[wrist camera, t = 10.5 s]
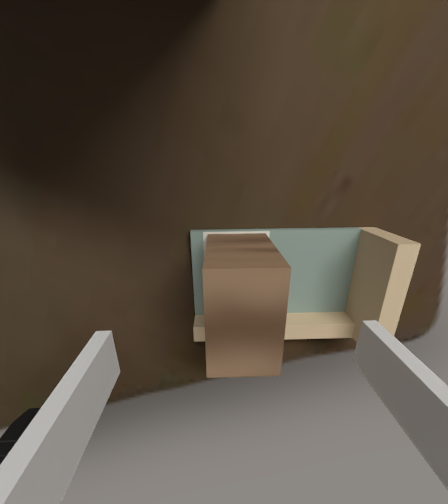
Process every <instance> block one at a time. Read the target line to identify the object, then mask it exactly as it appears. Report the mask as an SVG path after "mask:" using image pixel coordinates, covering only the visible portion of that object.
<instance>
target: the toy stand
mask: <svg viewBox="0 0 448 504" xmlns="http://www.w3.org/2000/svg"><path fill="white" fill-rule="evenodd" d="M241 233H266V235H267V236H268V237H269V239H270V240H271V241H272V243H273V244H274V245H275V247H276V248H277V249H278V251H279V252H280V253H281V254H282V256H283V257H284V258H285V260H286V261H287V262H288V264H289V265H290V266H291V278H290V288H289V297H288V307H287V317H286V327H285V337H284V339H321V338H353V339H354V340H355V341H356V343H357V341H358V337H359V332H360V328H361V324H362V321H369V320H376V321H378V322H379V323H380V324H381V325H382V326H383V327H384V328H385V329H386V330H387V331H388V332H390V333H391V334H392V335H393V336H394V334H395V331H396V327H397V324H398V321H399V317H400V314H401V310H402V307H403V304H404V300H405V297H406V294H407V290H408V287H409V283H410V280H411V277H412V273H413V270H414V266H415V263H416V260H417V256H418V253H419V250H420V246H421V244H420V243H417V242H414V241H411V240H409V239H406V238H403V237H400V236H398V235H395V234H392V233H389V232H387V231H384V230H381V229H378V228H376V227H357V228H288V229H219V230H191V231H190V237H191V254H192V270H193V287H194V304H195V319H194V326H193V332H194V342H196V341H205V323H204V299H203V275H202V268H203V261H204V255H205V249H206V243H207V237H208V234H241Z"/></svg>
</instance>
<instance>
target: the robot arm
mask: <svg viewBox="0 0 448 504" xmlns="http://www.w3.org/2000/svg"><path fill="white" fill-rule="evenodd" d="M353 362H354V363H355V365H356V366H357V367H358V369H359V370H360V371H361V373H362V374H363V375H364V377H365V378H366V380H367V381H368V382H369V384H370V385H371V386H372V388H373V389H374V391H375V392H376V393H377V395H378V396H379V397H380V398H381V400H382V401H383V403H384V404H385V405H386V407H387V408H388V410H389V411H390V412H391V414H392V415H393V416H394V418H395V419H396V420H397V422H398V423H399V425H400V426H401V427H402V428H403V430H404V431H405V433H406V434H407V435H408V437H409V438H410V440H411V441H412V442H413V444H414V445H415V446H416V448H417V449H418V450H419V452H420V453H421V454H422V456H423V457H424V459H425V460H426V461H427V463H428V464H429V465H430V467H431V468H432V469H433V471H434V472H435V474H436V475H437V476H438V478H439V479H440V480H441V482H442V483H443V484H444V486H445V487H446V489H447V490H448V386H447V385H446V384H445V383H444V382H443V381H442V380H441V379H440V378H438V377H437V376H436V375H435V374H434V373H433V372H432V371H431V370H429V368H428V367H426V366H425V365H424V364H423V363H422V362H421V361H420V360H419V359H418V358H417V357H416V356H414V355H413V354H412V353H411V352H410V351H409V350H408V349H407V348H406V347H405V346H403V344H401V343H400V342H399V341H398V340H397V339H396V338H395V337H394V336H393V335H392V334H391V333H390V332H388V331H387V330H386V329H385V328H384V327H383V326H382V325H381V324H380V323H379V322H378V321H376V320H369V321H362V324H361V328H360V332H359V337H358V341H357V345H356V349H355V354H354V358H353ZM119 374H120V368H119V364H118V359H117V354H116V350H115V345H114V340H113V336H112V331H96V332H95V333H94V335H93V336H92V337H91V339H90V340H89V342H88V343H87V344H86V346H85V347H84V349H83V350H82V351H81V353H80V354H79V356H78V357H77V358H76V360H75V361H74V363H73V364H72V365H71V367H70V368H69V370H68V371H67V372H66V374H65V375H64V377H63V378H62V379H61V381H60V382H59V384H58V385H57V386H56V388H55V389H54V391H53V392H52V393H51V395H50V396H49V398H48V399H47V400H46V402H45V403H44V404H43V406H42V407H41V408H32V409H28V410H27V411H26V412H24V413H23V414H22V415H21V416H20V417H19V418H18V419H16V420H15V421H14V422H13V423H12V424H11V425H10V426H9V428H8V429H7V430H6V432H5V433H4V434H3V435H2V437H1V438H0V504H61V501H62V499H63V497H64V495H65V493H66V491H67V488H68V486H69V484H70V482H71V479H72V477H73V475H74V473H75V471H76V468H77V466H78V464H79V462H80V460H81V457H82V455H83V453H84V451H85V449H86V446H87V444H88V442H89V439H90V438H91V435H92V433H93V431H94V428H95V427H96V424H97V422H98V420H99V418H100V416H101V413H102V411H103V409H104V407H105V404H106V402H107V400H108V398H109V396H110V393H111V391H112V389H113V387H114V385H115V382H116V380H117V378H118V376H119Z"/></svg>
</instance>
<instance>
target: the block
mask: <svg viewBox="0 0 448 504" xmlns="http://www.w3.org/2000/svg"><path fill="white" fill-rule="evenodd" d="M202 275H203V299H204V323H205V347H206V371H207V378H220V377H259V376H281V367H282V357H283V347H284V337H285V327H286V317H287V307H288V297H289V288H290V278H291V266H290V265H289V264H288V262H287V261H286V260H285V258H284V257H283V256H282V254H281V253H280V252H279V251H278V249H277V248H276V247H275V245H274V244H273V243H272V241H271V240H270V239H269V237H268V236H267V235H266V233H241V234H208V237H207V243H206V249H205V255H204V261H203V268H202Z"/></svg>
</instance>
